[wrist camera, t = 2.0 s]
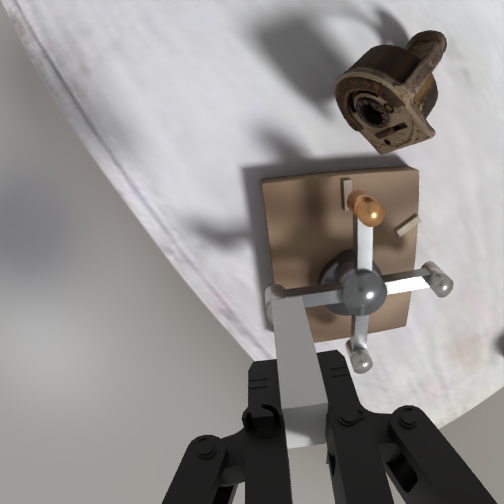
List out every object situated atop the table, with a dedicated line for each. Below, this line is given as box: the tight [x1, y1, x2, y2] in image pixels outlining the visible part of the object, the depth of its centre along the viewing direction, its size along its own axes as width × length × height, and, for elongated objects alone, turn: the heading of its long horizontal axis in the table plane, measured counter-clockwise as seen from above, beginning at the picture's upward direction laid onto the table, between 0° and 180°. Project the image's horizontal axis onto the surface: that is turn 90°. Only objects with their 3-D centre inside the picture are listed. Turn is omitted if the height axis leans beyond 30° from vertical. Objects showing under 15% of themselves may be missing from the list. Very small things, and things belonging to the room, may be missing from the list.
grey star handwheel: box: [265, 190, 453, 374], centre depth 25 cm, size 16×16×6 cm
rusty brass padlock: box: [334, 30, 447, 155], centre depth 18 cm, size 7×13×10 cm, turn 153°
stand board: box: [261, 166, 421, 343], centre depth 29 cm, size 17×14×2 cm
